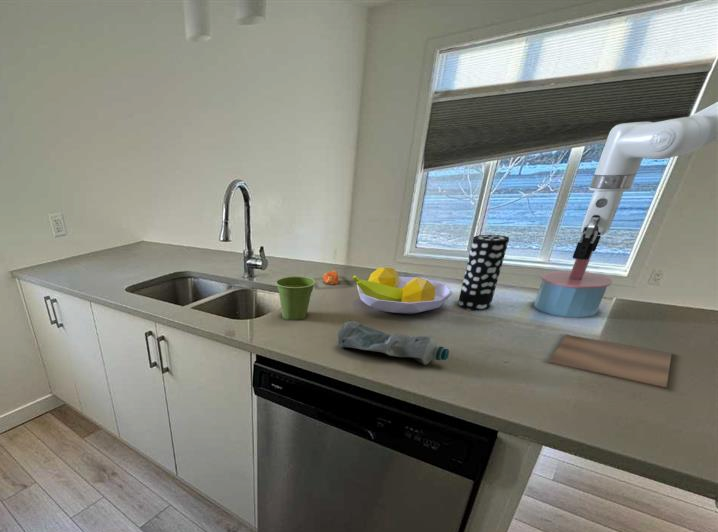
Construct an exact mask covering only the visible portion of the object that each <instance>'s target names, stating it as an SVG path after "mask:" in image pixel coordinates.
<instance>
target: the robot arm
mask: <svg viewBox="0 0 718 532" xmlns="http://www.w3.org/2000/svg"><path fill="white" fill-rule="evenodd" d="M717 141H718V101H717V102H714V103H713V104H711V105H709V106H707V107H705V108H703V109H701V110H699V111H697V112H696V113H694V114H691V115H690V116H684V117H678V118H671V119H666V120H661V121H660V120H659V121H654V122H653V121H636V122H635V121H634V122H623V123H618V124H616V125H615V126H613V127H612V128H611V129H610V131H609V132H608V136H607V139H606V140H605V144H604V147H603V149H602V152H601V155H600V157H599V159H598V163H597V166H596V168H595V171H594V174H593V176H592V179H591V183H590V184H589V188H588V190H589V191H593V194H592V196H591V199H590V202H589V204H588V207H587V210H586V212H585V216H584V218H583V222H582V225H581V228H580V232H581V233H582V234H581V237H580V239H579V240H578V242H577V244H576V247H575V250H574V252H573V255H572V259H574V260H576V259H583V260H587V259H589V257H590V254H591V252H595V251H596V250H597V248H598V245H599V243H600V240H601V237H602V235H605V234H606V233H607V232H608V231H609V230H610V229H611V226H612V224H613V221H614V218H615V216H616V213H617V211H618V208H619V205H620V203H621V200H622V197H623V194H624V191H630V190H631V188H632V186H633V184H634V181H635V178H636V176H637V174H638V172H639V169H640V166H641V165H642V161H643V159H648V160H665V159H666V160H667V159H670V158H674V157H680V156H685V155H687V154H691V153H693V152H695V151H697V150H700V149H703V148H704V147H706V146H708V145H711V144H713V143H715V142H717Z"/></svg>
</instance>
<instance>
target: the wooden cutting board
mask: <svg viewBox="0 0 718 532" xmlns="http://www.w3.org/2000/svg"><path fill="white" fill-rule="evenodd" d="M672 355H673V353H669V352H664V351H658V350H653V349H647V348H641V347H636V346H630V345H625V344H619V343H614V342H608V341H603V340H597V339H593V338H586V337H581V336H576V335H570V334H565V336H564V338H563V340H562V341H561V343H560V344H559V346H558V347H557V349H556V351H555V352H554V354H553V355H552V357H551V358H550V360H549V361H548V363H549V364H552V365H558V366H562V367H567V368H571V369H576V370H579V371H585V372H590V373H594V374H599V375H602V376H607V377H612V378H616V379H621V380H625V381H629V382H634V383H638V384H642V385H647V386H653V387H657V388H661V389H667V387H668V381H669V374H670V369H671V368H670V367H671V363H672V362H671V361H672Z"/></svg>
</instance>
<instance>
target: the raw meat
mask: <svg viewBox="0 0 718 532" xmlns="http://www.w3.org/2000/svg"><path fill="white" fill-rule="evenodd" d="M322 281H323V282H324V283H325V284H328V285H331V286H335V285H338V284H339V275H338V271H337V270H332V271H329V272H326V273H324V274H323V276H322Z"/></svg>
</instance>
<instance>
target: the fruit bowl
mask: <svg viewBox="0 0 718 532" xmlns="http://www.w3.org/2000/svg"><path fill="white" fill-rule="evenodd" d="M352 279H353V280H354V281H355V283H356V288H357V292H358V295H359V298H360V300H361V302H363V303H364V304H366V305H367V306H368V307H370V308H373V309H375V310H377V311H380V312H386V313H393V314H402V315H415V314H419V313H422V312H426V311H431V310H435V309H439V308H440V307H441V306H442V305H443V304H444V303H445V302H446V301H447V300H448V299H449V298H450V296H452V294H453V293H454V292H453V291H452V290H451V289H450V287H449V286H448V285H447V284H446V283H442V282H440V281H435V280H431V279H427V278H424V277H418V276H415V277H414V276H413V277H410V276H400V275H399V272H398V271H397V270H395V268H394V267H385V266H380V267H378V268H377V269H376V270H374V271H373V272H371V273H370V275H369V277H368V279H362V278H359V277H358V276H357V275H353V276H352Z"/></svg>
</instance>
